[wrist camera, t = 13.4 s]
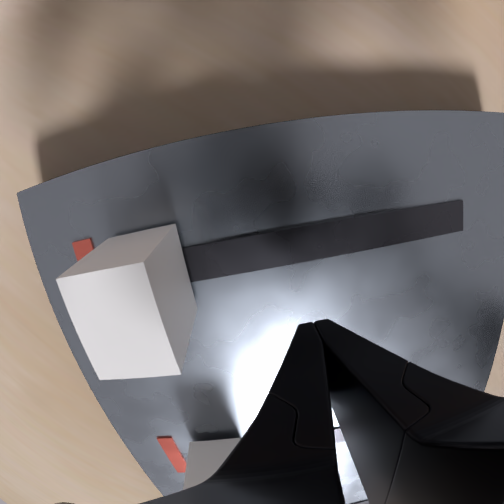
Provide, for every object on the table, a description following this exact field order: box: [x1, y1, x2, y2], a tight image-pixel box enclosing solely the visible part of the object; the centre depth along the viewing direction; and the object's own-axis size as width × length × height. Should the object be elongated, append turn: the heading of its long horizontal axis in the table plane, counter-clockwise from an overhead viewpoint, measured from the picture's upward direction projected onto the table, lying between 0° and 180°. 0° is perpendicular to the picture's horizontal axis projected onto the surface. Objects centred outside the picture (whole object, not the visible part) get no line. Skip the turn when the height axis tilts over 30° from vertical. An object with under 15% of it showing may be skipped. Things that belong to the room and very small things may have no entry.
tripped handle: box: [56, 224, 197, 380], centre depth 9 cm, size 2×3×4 cm
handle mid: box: [183, 438, 240, 490], centre depth 12 cm, size 2×3×4 cm
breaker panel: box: [17, 110, 504, 504], centre depth 15 cm, size 20×28×2 cm
